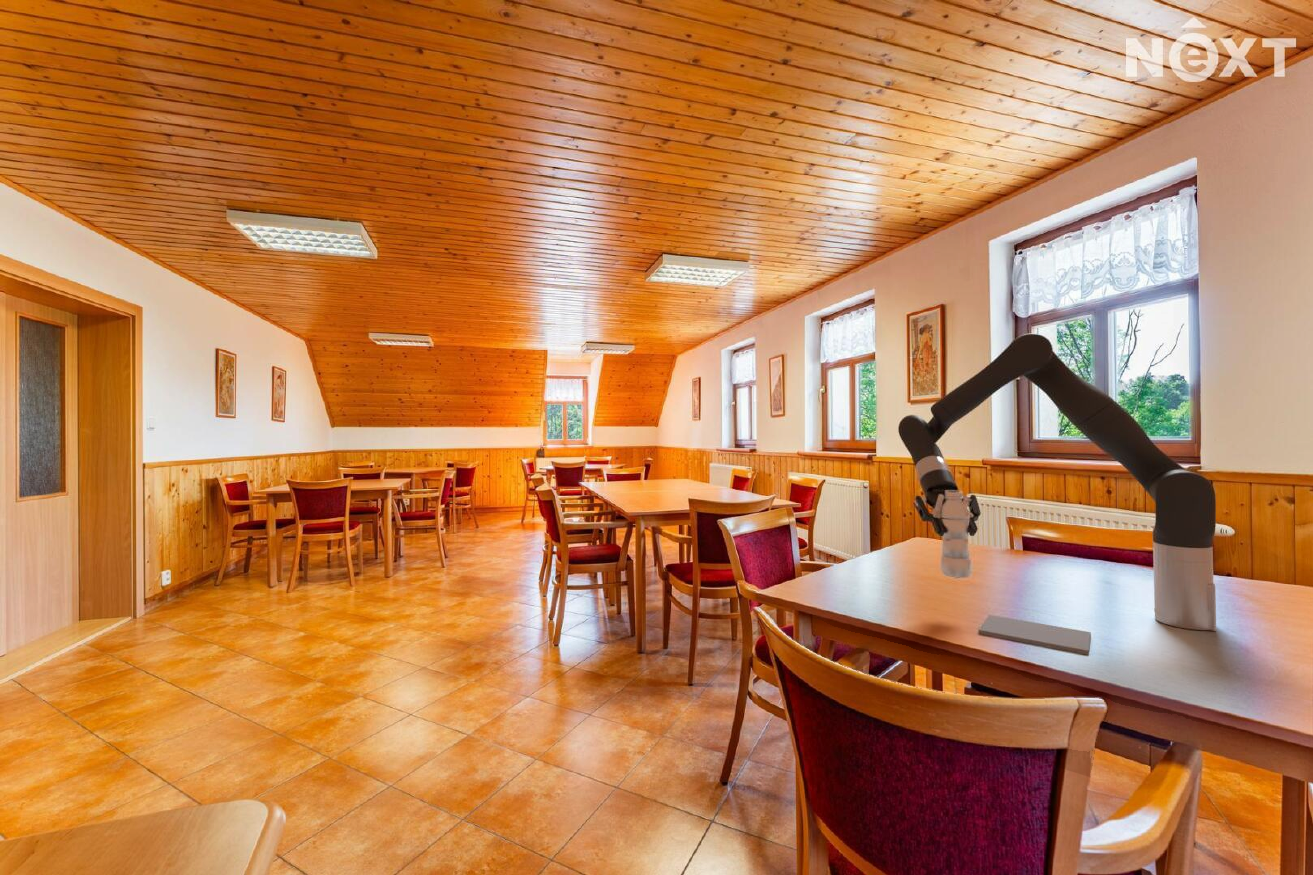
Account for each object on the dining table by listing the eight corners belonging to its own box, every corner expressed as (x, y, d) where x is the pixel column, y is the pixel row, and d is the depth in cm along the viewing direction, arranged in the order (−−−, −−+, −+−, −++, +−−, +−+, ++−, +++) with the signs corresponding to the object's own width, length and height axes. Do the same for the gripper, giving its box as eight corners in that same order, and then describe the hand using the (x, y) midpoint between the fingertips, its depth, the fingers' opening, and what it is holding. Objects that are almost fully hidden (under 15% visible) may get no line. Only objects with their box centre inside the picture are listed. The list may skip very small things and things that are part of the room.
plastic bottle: (975, 576, 123) (973, 490, 123) (968, 582, 118) (965, 493, 118) (945, 572, 128) (942, 489, 128) (936, 578, 123) (934, 491, 123)
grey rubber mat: (1090, 636, 109) (1090, 632, 109) (1088, 654, 100) (1088, 650, 100) (989, 618, 121) (989, 614, 121) (978, 633, 112) (978, 629, 112)
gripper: (908, 468, 131) (928, 524, 119) (970, 467, 129) (997, 524, 118) (902, 488, 136) (920, 543, 125) (961, 487, 135) (986, 543, 123)
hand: (957, 533), depth 121 cm, fingers closed on plastic bottle, 6 cm apart
